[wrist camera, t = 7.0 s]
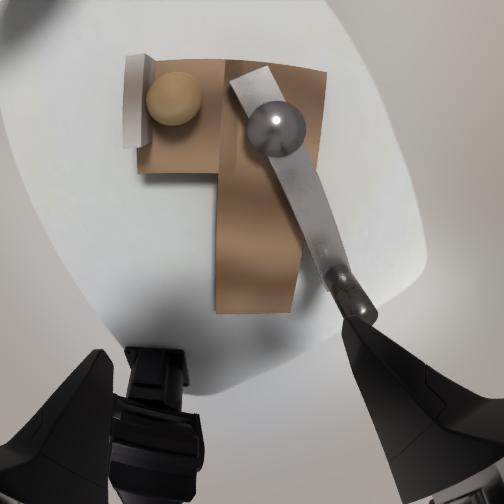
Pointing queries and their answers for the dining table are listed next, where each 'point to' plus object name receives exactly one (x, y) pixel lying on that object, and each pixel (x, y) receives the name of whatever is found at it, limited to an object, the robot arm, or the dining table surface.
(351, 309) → the lever
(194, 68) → the board
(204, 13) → the dining table surface
